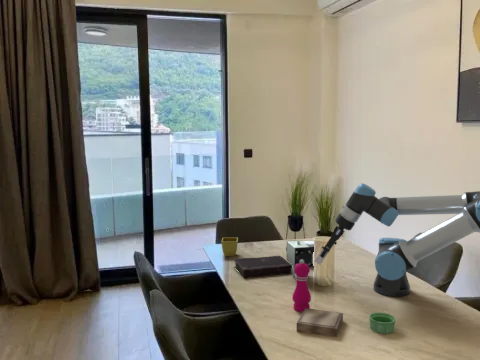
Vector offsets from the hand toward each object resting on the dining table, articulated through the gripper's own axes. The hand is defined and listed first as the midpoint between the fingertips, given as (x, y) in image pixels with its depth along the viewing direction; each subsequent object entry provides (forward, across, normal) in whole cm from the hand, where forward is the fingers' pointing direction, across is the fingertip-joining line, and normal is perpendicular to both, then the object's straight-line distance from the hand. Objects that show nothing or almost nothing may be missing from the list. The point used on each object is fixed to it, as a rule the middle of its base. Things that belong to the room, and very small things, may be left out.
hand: (320, 258), depth 198 cm
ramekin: (0, +27, +32) cm, 41 cm away
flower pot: (+42, -42, -42) cm, 73 cm away
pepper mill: (+16, +18, +5) cm, 25 cm away
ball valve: (+20, -19, -4) cm, 27 cm away
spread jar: (+18, -40, -2) cm, 44 cm away
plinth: (+11, +32, +13) cm, 36 cm away
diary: (+30, -23, -21) cm, 43 cm away
